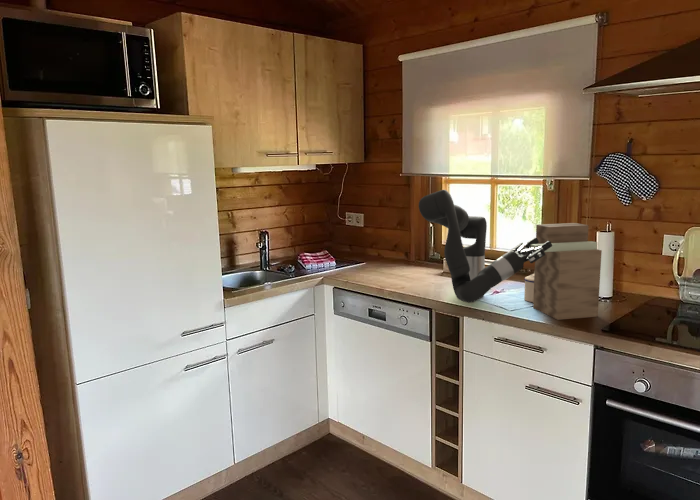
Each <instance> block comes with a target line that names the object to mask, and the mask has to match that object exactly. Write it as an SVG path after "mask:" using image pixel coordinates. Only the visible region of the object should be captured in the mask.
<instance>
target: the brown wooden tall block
mask: <svg viewBox="0 0 700 500" xmlns="http://www.w3.org/2000/svg"><path fill="white" fill-rule="evenodd" d="M535 228H536V229H535V231H536V232H535V238H537V239H538V241H539V243H538V244H544V243H546V242H547V241H550V242H551V243H567V242H587V241H588V240H589V224H582V223H577V222H567V223H566V222H565V223H545V224H544V223H543V224H539V223H538V224H536V227H535ZM545 254H546V255H545V256H543V257H541V258H540V259H538V260H537V261H535V262H534V272H535V275H534V300H533V302H532V304H533V305H532V307H533V309H534V310H537V311H539V312H541V313H543V314H545V315H547V316H549V317H551V318H553V319H555V320H569V319H571V320H573V319H584V318H597V317H599V302H600V287H601V285H600V284H601V268H602V254H603V253H602V249H598V248H597V249H595V250H576V251H556V252H545Z"/></svg>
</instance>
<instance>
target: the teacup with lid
mask: <svg viewBox="0 0 700 500" xmlns="http://www.w3.org/2000/svg"><path fill="white" fill-rule="evenodd" d="M534 275H535V271H533V273H531V274H530V275H528V276H525V277H524V298H523V299H524V300H525V301H526V302H529V303H533V300H534Z"/></svg>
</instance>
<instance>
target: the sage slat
mask: <svg viewBox="0 0 700 500" xmlns="http://www.w3.org/2000/svg"><path fill="white" fill-rule="evenodd" d="M551 244H552V247H550V248H549V249H547V250H546V251H544V252H556V251H576V250H595V249H598V242H597V241H592V240H591V241H587V242H567V243H551ZM541 245H543V244H531V248H533V247H534V248H537V247H540V246H541ZM536 251H537V250H536ZM532 252H533V251H532Z"/></svg>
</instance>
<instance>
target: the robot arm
mask: <svg viewBox="0 0 700 500" xmlns="http://www.w3.org/2000/svg"><path fill="white" fill-rule="evenodd" d="M418 210H419V213H420V214H421V217H423V219H425V220H426V221H428V222H430V223H434V224H438V225H441V226H443V227H445V228H446V229H447V236H446V241H445V243H444V244H445V245H444V249H443V250H444V253H443V255H444V258H445V259H444V260H445V262H446V265H447V268H448V271H449V274H450V278H451V284H452V289H453V292H454V295H455V296H456V298H457V299H458V301H462V302H465V303H468V304H469V303H470V304H471V303H474V302H476V301H478V300H480V299H481V298H482V297H484V296H485V295H486V294H487V293H488V292H489V291H490V290H491V289H492V288H494V287H496V286H497V285H499V284H500V283H502V282H503V281H506V280H507V279H509V278H510V277H512V276H514V275H516V274H517V273H518V272H520V271H521V270H522V269H524V267H525V266H524V265H525V264H524V263H526V262H529V264H534V263H535V261H537V260H538V259H540V258H541V257H543V256H545V255H546V254H545V252H544V251H546V250H547V249H549V248H550V247H552V244H551V242H550V241H547V242H546V243H544V244H543V245H541V246H540V247H537V248H534V247H533V248H531V244H538V243H539V241H538V239H537V238H536V237H533V238H532V239H531V240H529V241H526V242H524V243H523V242H520V243H519V244H517V245H516V246H514V247H513V248H511V249H510V250H508V251H507V252H505V253H504V254H502V255H501V256H500V257H498V258H497V259H495V260H494V261H493V262H492V263H490V264H489V265H487V266H486V267H485V263H486V262H485V261H486V260H485V258H486V256H485V255H486V240H487V239H486V238H487V227H488V225H487V223H488V222H487V220H486V218H485V217H484V216H470V215H469V213H468V212H467V211H466V210H465V209H464V208H462V207H461V206H459V205H458V204H455V203H454V199H453V198H452V196H451V194H450V192H449V191H448V189H447V190H446V189H440V190H438V191H434V192H432V193H429V194H427V195H424V196H423V197H421V198H420V200H419V202H418ZM462 238H464V239H471V240H475V242H474V243H472V244H470V245H468V246H464V245H463V241H462ZM536 250H537V251H536ZM532 251H533V252H532Z"/></svg>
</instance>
